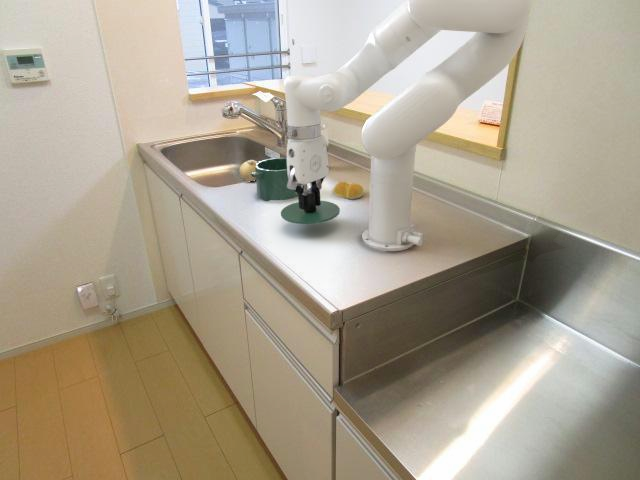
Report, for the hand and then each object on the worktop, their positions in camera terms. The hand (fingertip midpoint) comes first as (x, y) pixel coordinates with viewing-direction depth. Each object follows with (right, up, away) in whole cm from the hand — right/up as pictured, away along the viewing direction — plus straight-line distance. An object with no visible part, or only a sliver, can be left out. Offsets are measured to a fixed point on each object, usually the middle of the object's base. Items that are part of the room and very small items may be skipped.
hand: (309, 206), depth 111 cm
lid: (0, -1, +1) cm, 2 cm away
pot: (-10, +6, +28) cm, 30 cm away
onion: (-20, +12, +41) cm, 48 cm away
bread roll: (+11, +5, +25) cm, 28 cm away
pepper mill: (+2, +17, +50) cm, 53 cm away
